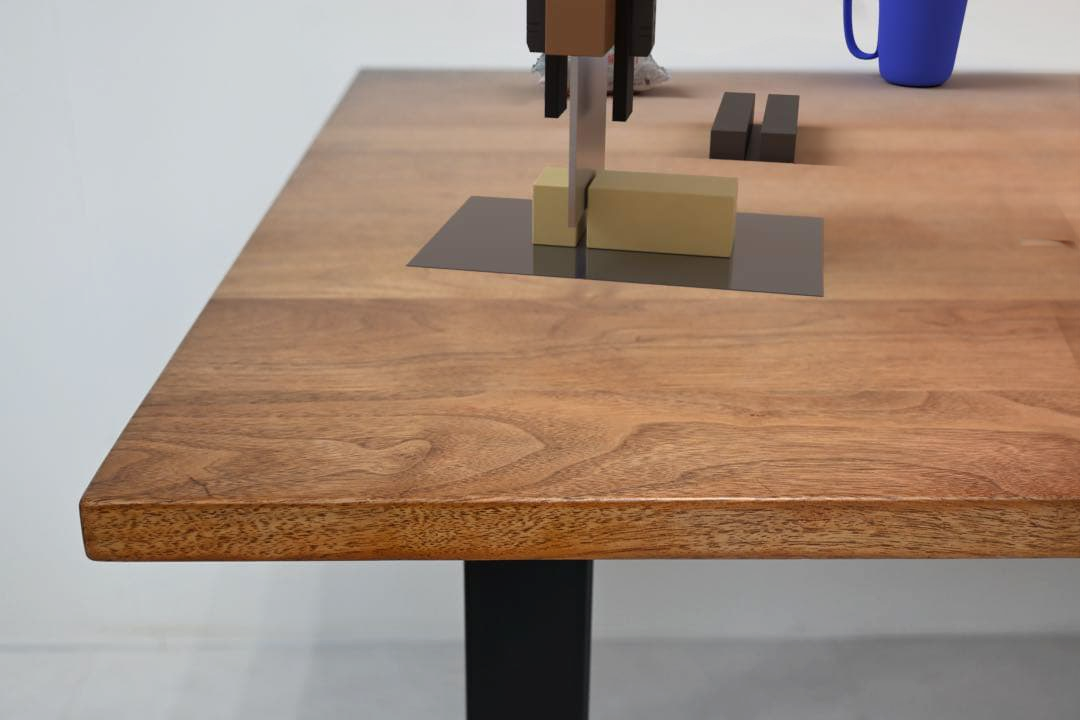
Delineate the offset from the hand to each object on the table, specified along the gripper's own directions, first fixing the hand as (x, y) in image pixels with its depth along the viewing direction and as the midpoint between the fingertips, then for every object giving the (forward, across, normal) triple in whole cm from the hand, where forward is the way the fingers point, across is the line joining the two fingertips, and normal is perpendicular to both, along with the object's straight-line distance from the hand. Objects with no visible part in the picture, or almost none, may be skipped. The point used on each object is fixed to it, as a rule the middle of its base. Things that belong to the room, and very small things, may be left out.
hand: (588, 113), depth 69 cm
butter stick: (+7, +4, 0) cm, 8 cm away
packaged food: (+9, -7, +46) cm, 47 cm away
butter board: (+8, +2, 0) cm, 9 cm away
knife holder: (+8, +8, +28) cm, 30 cm away
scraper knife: (+5, 0, 0) cm, 5 cm away
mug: (+8, +20, +60) cm, 64 cm away
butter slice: (+7, -2, 0) cm, 7 cm away
